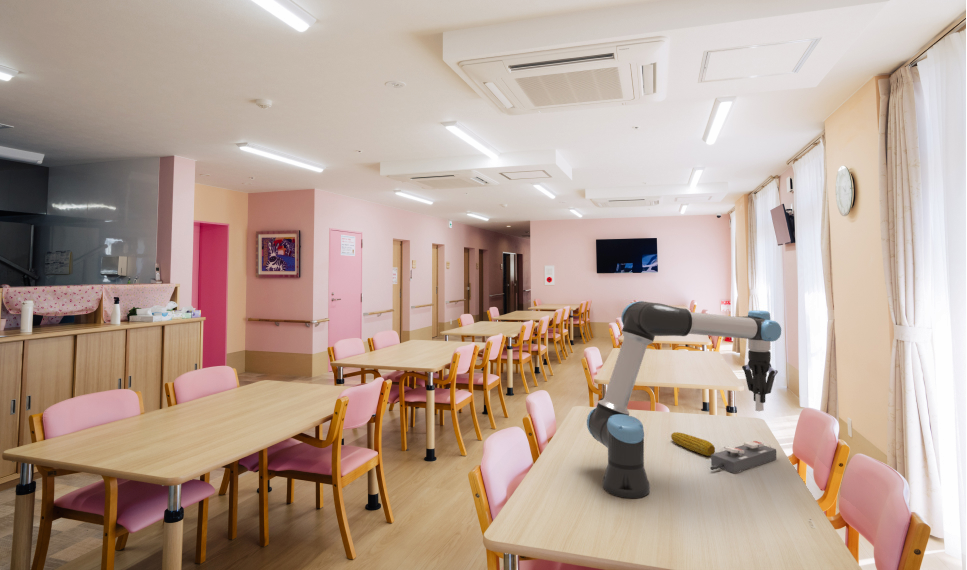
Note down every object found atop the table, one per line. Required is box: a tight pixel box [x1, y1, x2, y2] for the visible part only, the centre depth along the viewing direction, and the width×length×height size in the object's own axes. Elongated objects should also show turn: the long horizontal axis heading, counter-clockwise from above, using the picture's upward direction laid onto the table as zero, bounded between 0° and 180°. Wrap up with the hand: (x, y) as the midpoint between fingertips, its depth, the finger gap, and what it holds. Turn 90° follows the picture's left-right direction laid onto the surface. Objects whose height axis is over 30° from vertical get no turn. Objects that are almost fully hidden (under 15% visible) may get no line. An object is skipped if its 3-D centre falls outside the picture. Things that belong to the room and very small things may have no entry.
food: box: [670, 431, 716, 457], centre depth 194 cm, size 21×6×6 cm, turn 24°
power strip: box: [709, 444, 777, 474], centre depth 178 cm, size 32×9×5 cm, turn 118°
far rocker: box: [743, 440, 765, 448], centre depth 182 cm, size 7×4×1 cm, turn 118°
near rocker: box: [723, 446, 744, 454], centre depth 177 cm, size 7×4×1 cm, turn 118°
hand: (759, 410), depth 184 cm, fingers closed
